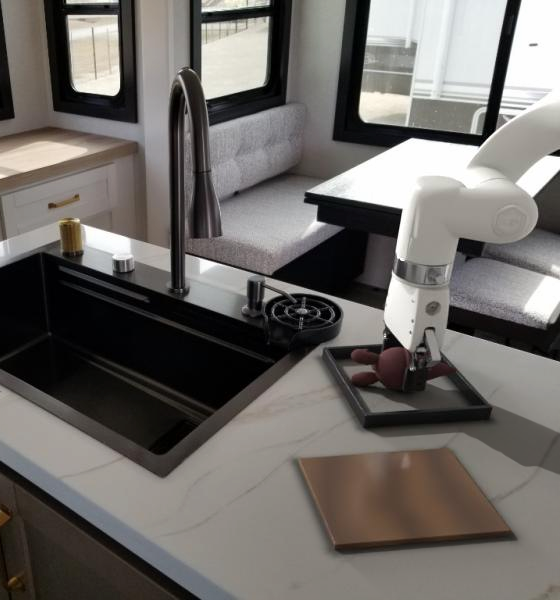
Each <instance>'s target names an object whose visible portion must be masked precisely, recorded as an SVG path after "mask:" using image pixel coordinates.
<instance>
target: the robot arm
mask: <svg viewBox="0 0 560 600" xmlns="http://www.w3.org/2000/svg"><path fill="white" fill-rule="evenodd" d="M558 150H560V81H559V82H558V83H557V85H556V86H555V87H554V88H553V89H552V90H551V91H550V92H549V93H547V94H546V95H545V96H544V97H542V98H541V99H539V100H538V101H536V102H534V103H533V104H531V105H530V106H528V107H527V108H526V109H524V110H523V111H521V112H519V114H517V115H516V116H515V117H513V118H511V119H510V120H509V121H507V122H505V123H504V124H503V125H502V126H500V127H499V128H498V129H497V130H495V131H494V132H493V133H492V134H491V135H490V136H489V137H488V138H487V139H485V141H484V142H483V143H482V144H481V145H480V147H478V149H477V150H476V151H475V152H474V154H473V155H472V156H471V157H470V158H469V160H467V162H466V163H465V164H464V165H463V167H462V168H461V169H460V170H459V172H458V173H457V175H456V177H450V176H445V175H433V174H432V175H421V176H418V177H415V178H413V179H412V180H411V181H410V182H409V183H408V184H407V187H406V189H405V190H406V191H405V194H404V200H403V205H402V211H401V217H400V224H399V230H398V234H397V241H396V246H395V253H394V258H393V264H392V269H391V278H390V282H389V286H388V291H387V295H386V300H385V302H384V303H383V305H382V306H383V323H384V324H383V325H384V329H383V330H382V336H383V340H382V344H383V345H382V350H381V353H382V352H383V351H385V350H387V349H389V348H395V347H401V348H403V347H405V348H406V349H407V350H408V353H409V367H406V371H405V376H404V381H403V386H402V390H401V391H403V392H404V393H413V392H424V391H425V390H426V385H427V382H428V381H427V377H428V372H429V370H431V369H432V368H433V367H435V365H436V364H438V363H439V362H440V361H441V356H440V352H439V351H442V349H443V346H444V342H445V338H446V332H447V325H448V318H449V310H450V286H449V283H450V281H451V277H452V273H453V272H452V271H453V267H454V262H455V258H456V253H457V248H458V244H459V240H460V238H461V239H467V240H473V241H478V242H484V243H489V244H498V245H501V244H504V245H505V244H511V243H515V242H518V241H520V240H522V239H524V238H526V237H527V236H528V235H529V234H530V233H531V232H533V230H534V228H535V227H536V225H537V223H538V220H539V219H538V218H539V211H538V210H539V208H538V205H537V203H536V201H535V199H534V198H533V197H532V195H530V193H528V191H526V190H525V189H524V188H522V187H521V186H519V184H517V183H518V182H519V180H520V179H521V178H523V176H524V175H525V174H526V173H527V172H528V171H529V170H530V169H532V167H533V166H535V165H536V164H537V163H538V162H540V161H541V160H542V159H543V158H545V157H547V156H549V155H550V154H552V153H554V152H556V151H558ZM420 343H424V347H420V348H416V346H419V344H420ZM417 352H424V354H423V357H424V359H420V360H418V361H416V353H417Z"/></svg>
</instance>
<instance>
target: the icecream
mask: <svg viewBox="0 0 560 600" xmlns="http://www.w3.org/2000/svg"><path fill="white" fill-rule="evenodd" d="M351 358H352V359H351V360H352V361H353V362H355V363H356V364H359V365H364V366H368V365H370V366H371V369H372V371H361V372H358V373H354V374H353V375H352V376H351V383H352V385H354V386H357V387H367V386H371V385H374V384H376V383H378V382H379V383H381V385H382V386H384V387H385V388H387V389H389V390H393V391H399V392H400V391H403V390H402V386H403V381H404V376H405V371H406V367H409V353H408V350H407V349H406V348H405V347H403V348H401V347H395V348H389V349H387V350H385V351H383V352H382V353H381V354H380V355H377V354H375V353H373V352H369V350H368V349H357V350H355V351H353V352H352V354H351ZM420 359H424V355H417V354H416V361H418V360H420ZM456 368H457V367H456ZM456 368H454V367H452V366H449V365H446V364H443V363H440V362H439V363H438V364H436V365H435V367H433V368H432V369H431V370H429V372H428V377H427V382H428V381H431V380H435V379H438V378H441V377H444V376H445V377H446V375H448V374H452V373H455V372H457V369H458V368H457V369H456Z"/></svg>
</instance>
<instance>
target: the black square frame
mask: <svg viewBox="0 0 560 600" xmlns="http://www.w3.org/2000/svg"><path fill="white" fill-rule="evenodd" d="M382 345H383V343H373V344H354V345H338V346H337V345H336V346H324V347H323V348H322V356H321V360H322V361H323V363H324V364H325V366H326V367H327V370H328V371H329V373H330V374H331V376H332V378H333V380H334V381H335V383H336V385H337V386H338V388H339V390H340V392H341V393H342V395H343V396H344V398H345V400H346V402H347V403H348V405H349V407H350V408H351V410H352V411H353V414H354V415H355V417H356V418H357V421H358V422H359V424H360V425H361V427H362V428H363V429H374V428H375V429H376V428H388V427H405V426H419V425H433V424H448V423H462V422H463V423H464V422H477V421H478V422H479V421H489V420H490V418H491V415H492V412H493V406H492V405H491V404H490V403H489V402H488V401H487V399H486V398H485V397H484V396H483V395H482V394H481V393H480V392H479V390H478V389H477V388H475V386H473V384H472V383H471V382H470V381H469V380H468V379H467V378H466V376H464V375H463V373H462V372H461V371H459V369H458V368H457V367H456V366H455V364H453V363H452V362H451V360H450V359H448V357H447V356H446V355H445V354H444V353H443V352H442V350H440V351H439V352H440V356H441V361H440V363H443V364H446V365H449V366H452V367H454V368H456V369H457V372H455V373H452V374H448V375H445V377H447V378H448V379H449V381H450V382H451V383H452V384H453V385H454V387H455V388H456V389H457V390H458V391H459V392H460V394H462V395H463V397H464V398H465V399H466V400H467V401H468V403H470V405H467V406H453V407H441V408H440V407H437V408H423V409H409V410H407V409H406V410H393V411H378V412H377V411H375V412H368V411H367V409H366V407H365V406H364V404H363V403H362V401H361V399H360V398H359V397H358V394H357V393H356V391H355V390H354V388H353V386H352V385H351V384H350V382H349V380H348V379H347V377H346V376H345V374H344V372H343V370H342V369H341V367H340V366H339V364H338V363H337V361H336V360H350V359H351V360H353V359H352V358H351V354H352V352H353V351H355V350H357V349H368V350H369V352H373V353H375V354H377V355H380V354H381V350H382ZM420 347H424V343H420V344H419V346H416V348H420ZM416 354H417V355H420V356H422V355H424V352H417V353H416Z"/></svg>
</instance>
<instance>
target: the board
mask: <svg viewBox="0 0 560 600" xmlns="http://www.w3.org/2000/svg"><path fill="white" fill-rule="evenodd" d="M297 462H298V465H299V468H300V471H301V472H302V476H303V477H304V480H305V483H306V485H307V488H308V490H309V492H310V494H311V495H310V496H311V497H312V500H313V502H314V504H315V506H316V509H317V511H318V513H319V516H320V518H321V521H322V523H323V525H324V528H325V531H326V533H327V535H328V538H329V540H330V542H331V545H332V547H333V550H334V551H335V550H346V549H359V548H370V547H372V548H373V547H383V546H395V545H409V544H421V543H433V542H444V541H459V540H470V539H481V538H493V537H504V536H505V537H507V536H510V533H511V529H510V527H509V526H508V525H507V523H506V522H505V521H504V520H503V518H502V517H501V516H500V514H499V513H498V512H497V510H496V509H495V508H494V506H493V505H492V503H491V502H490V501H489V500H488V498H487V497H486V495H485V494H484V493H483V492H482V490H481V489H480V488H479V486H478V485H477V483H476V482H475V481H474V479H473V478H472V477H471V475H470V474H469V473H468V472H467V470H466V469H465V467H464V466H463V465H462V464H461V462H460V461H459V460H458V458H457V457H456V455H455V454H454V453H453V451H452V450H451V449H450V448H449V447H441V448H428V449H427V448H426V449H425V448H424V449H414V450H413V449H411V450H397V451H383V452H371V453H358V454H355V453H354V454H342V455H340V454H339V455H329V456H328V455H327V456H313V457H299V458H298V461H297Z"/></svg>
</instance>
